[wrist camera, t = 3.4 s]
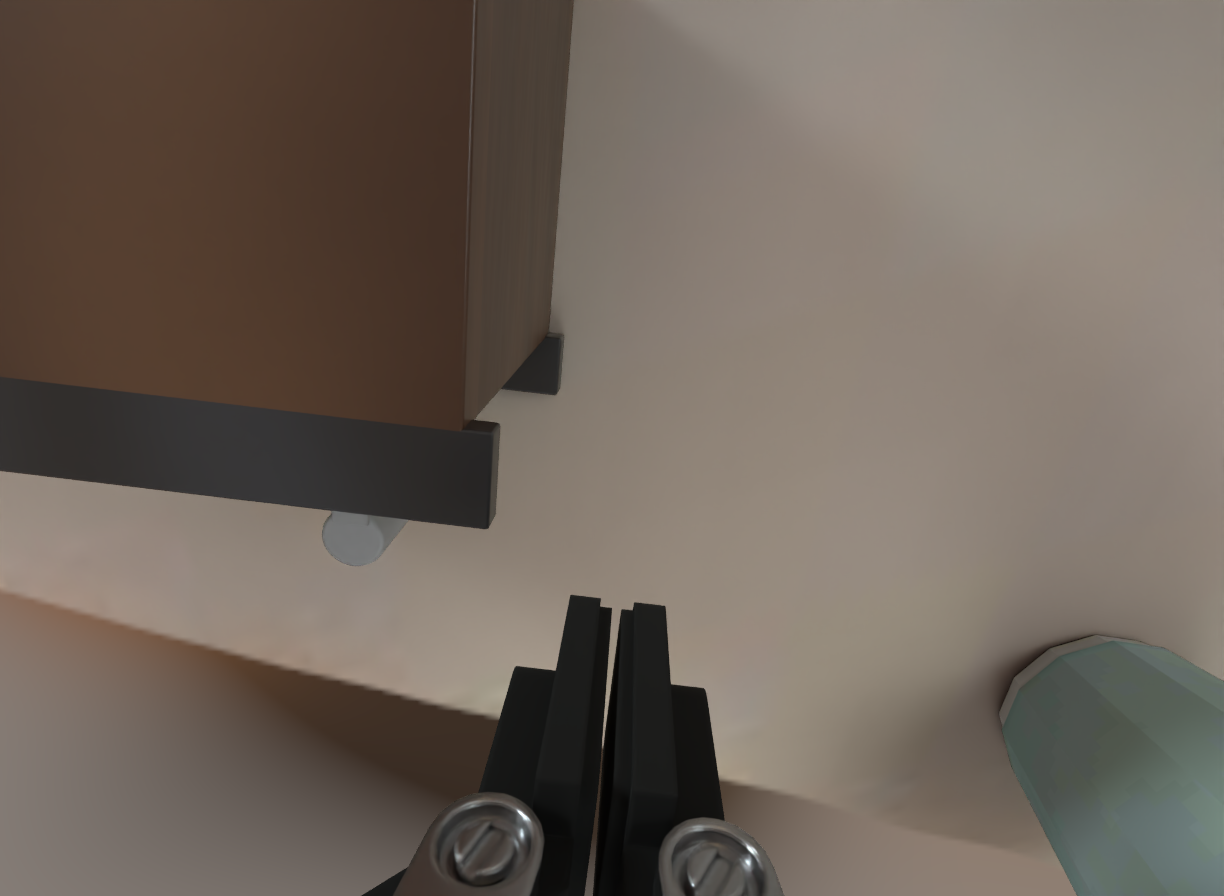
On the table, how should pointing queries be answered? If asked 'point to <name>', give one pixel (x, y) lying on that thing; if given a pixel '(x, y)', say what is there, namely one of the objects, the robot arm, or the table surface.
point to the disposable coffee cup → (1123, 765)
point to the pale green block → (359, 536)
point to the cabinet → (278, 244)
